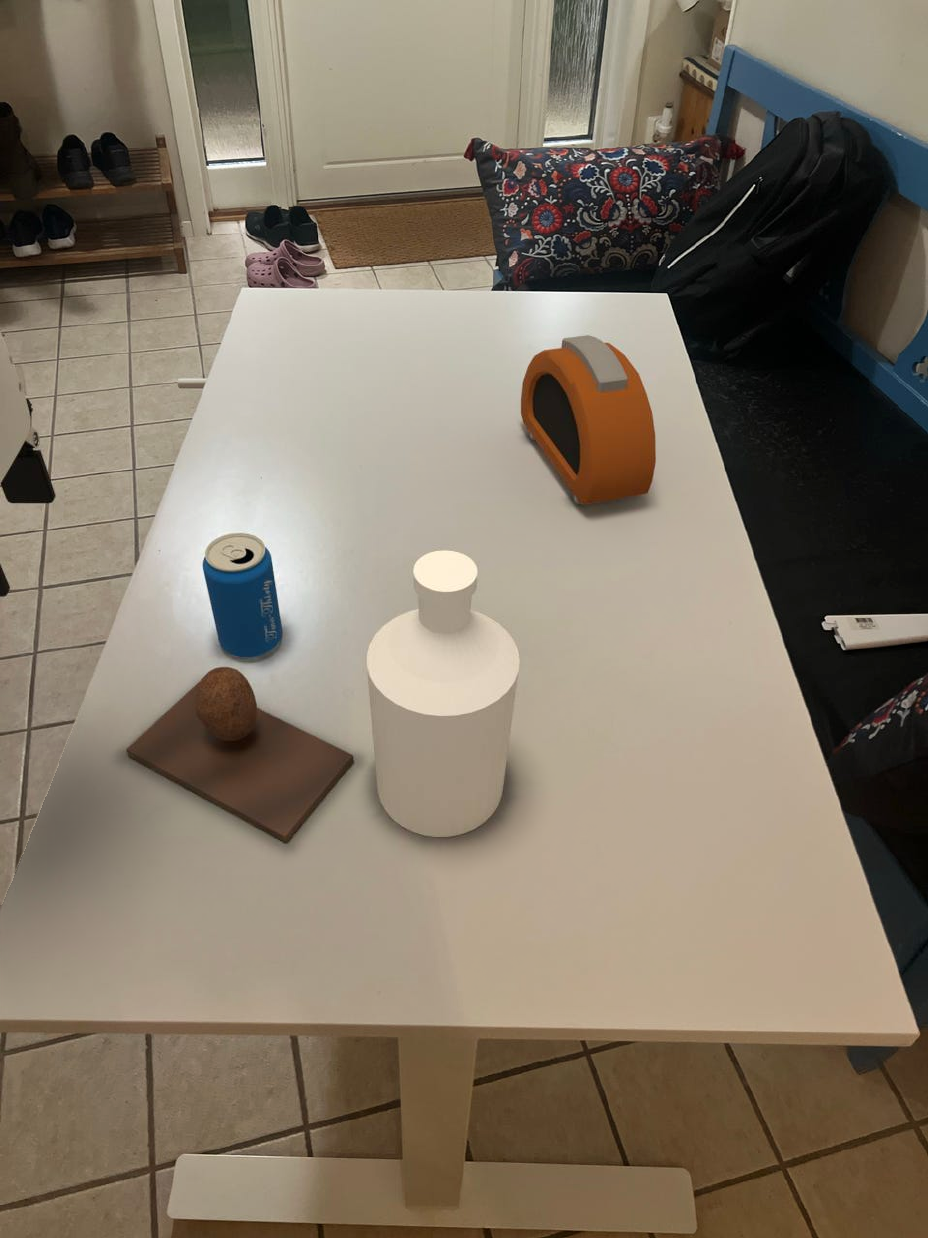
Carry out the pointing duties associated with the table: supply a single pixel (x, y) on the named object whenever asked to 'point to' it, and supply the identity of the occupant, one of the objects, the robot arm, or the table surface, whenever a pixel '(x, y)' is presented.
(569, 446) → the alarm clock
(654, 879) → the table surface
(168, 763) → the walnut board
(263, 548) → the beverage can
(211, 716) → the coconut
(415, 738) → the bottle
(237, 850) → the table surface
